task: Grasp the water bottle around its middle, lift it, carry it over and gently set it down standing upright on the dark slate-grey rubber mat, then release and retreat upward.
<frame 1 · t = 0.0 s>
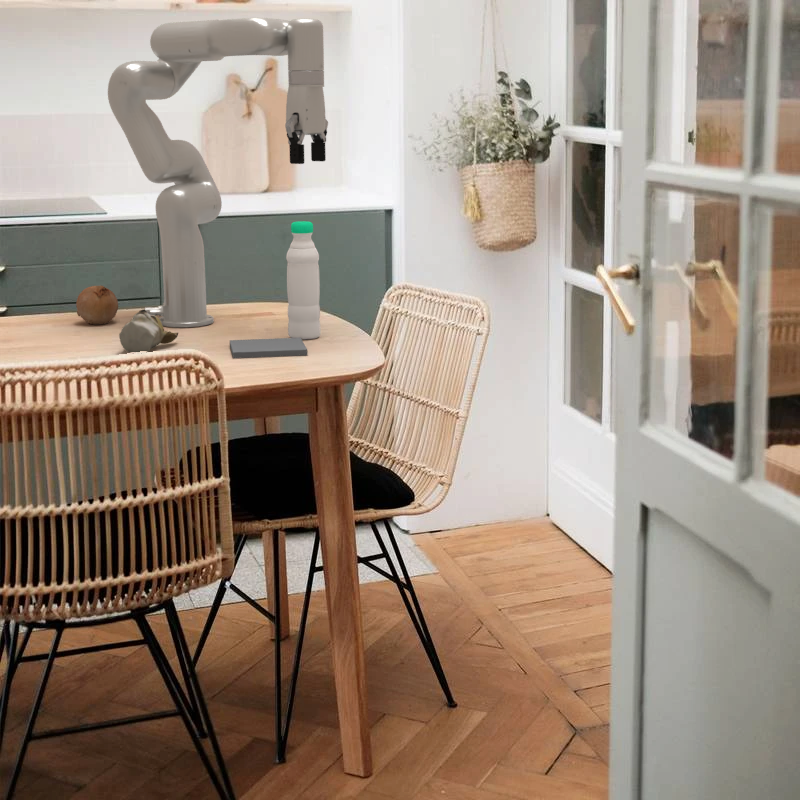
hand: (307, 162, 275), 37 cm above the table, fingers open, 9 cm apart
water bottle: (304, 337, 280), on the table
onion: (98, 324, 297), on the table
ceramic sculpture: (145, 350, 268), on the table
slate mat: (267, 350, 266), on the table
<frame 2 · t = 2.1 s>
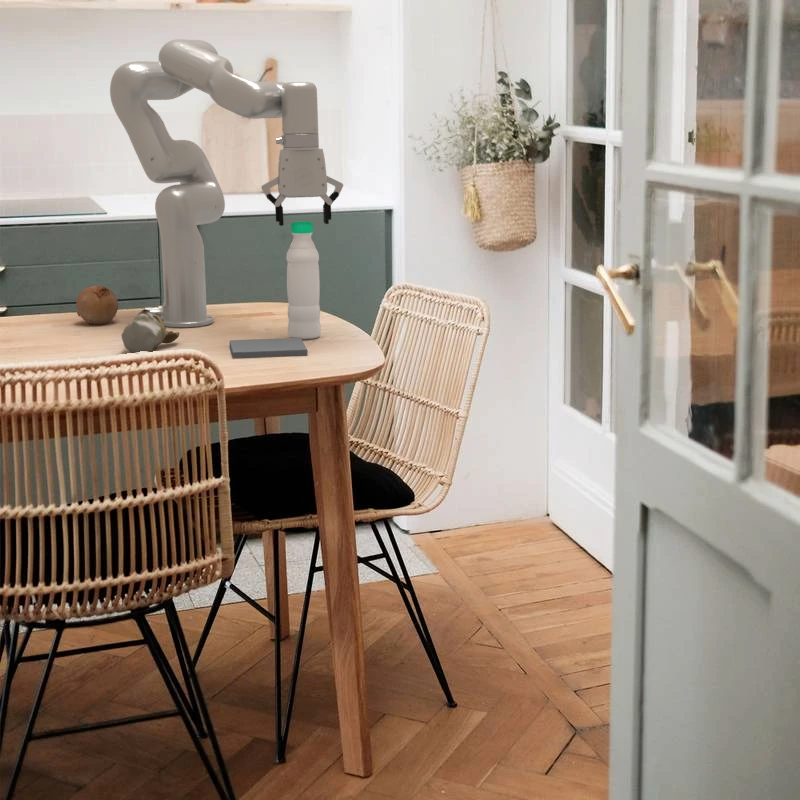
hand: (303, 224, 274), 25 cm above the table, fingers open, 9 cm apart
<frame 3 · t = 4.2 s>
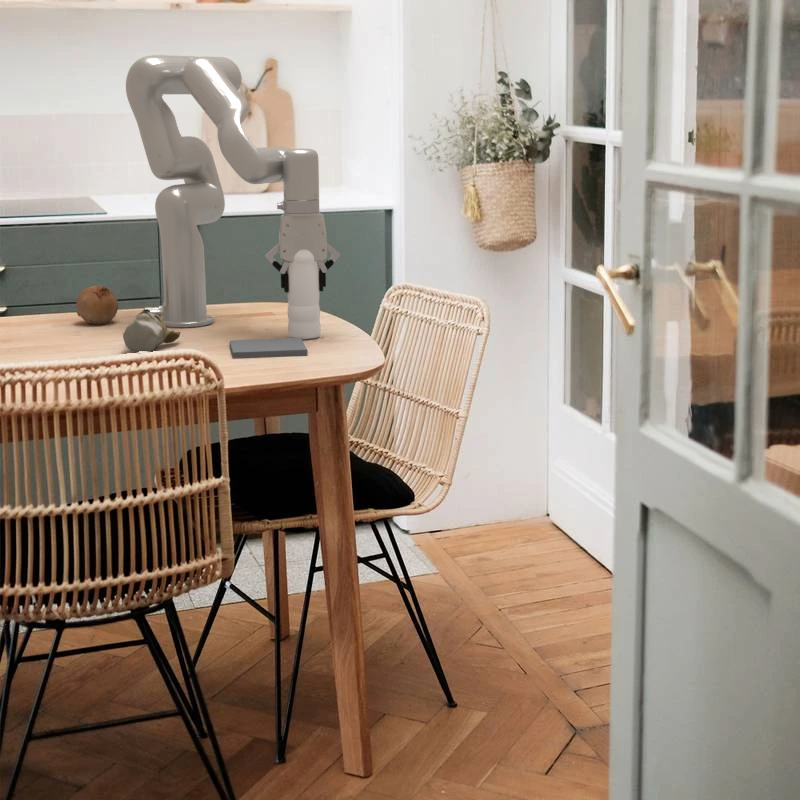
hand: (303, 290, 277), 10 cm above the table, fingers closed on water bottle, 6 cm apart
water bottle: (304, 337, 280), on the table, touching gripper
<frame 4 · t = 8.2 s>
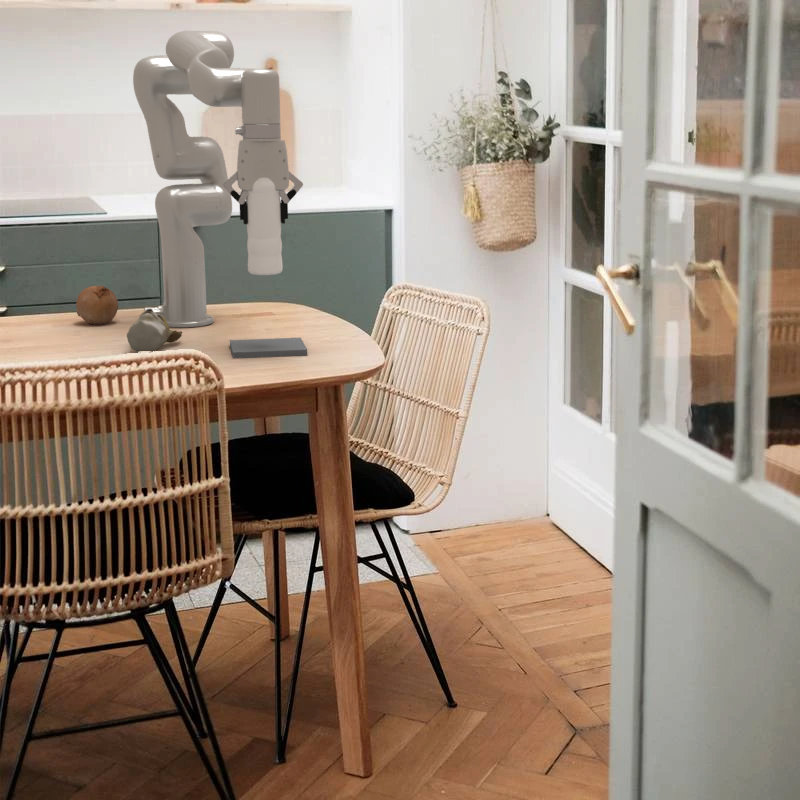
hand: (264, 222, 259), 26 cm above the table, fingers closed on water bottle, 6 cm apart
water bottle: (265, 273, 262), point 16 cm above the table, touching gripper
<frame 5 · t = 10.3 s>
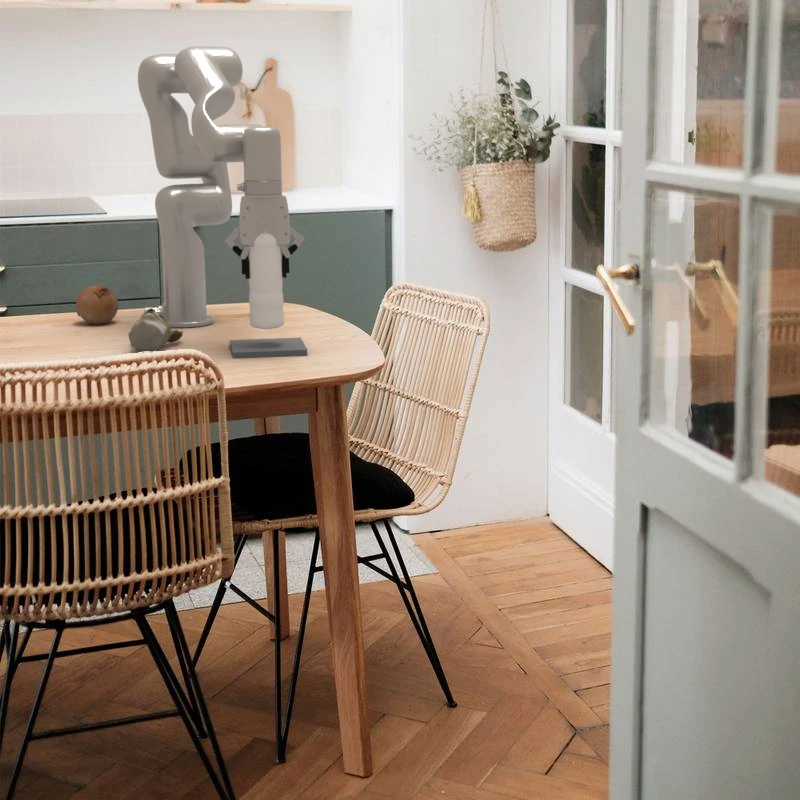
hand: (265, 276, 262), 15 cm above the table, fingers closed on water bottle, 6 cm apart
water bottle: (267, 327, 265), point 5 cm above the table, touching gripper
when the fingers open (13 cm above the table, at t = 12.0 s): water bottle drops 1 cm, resting on slate mat.
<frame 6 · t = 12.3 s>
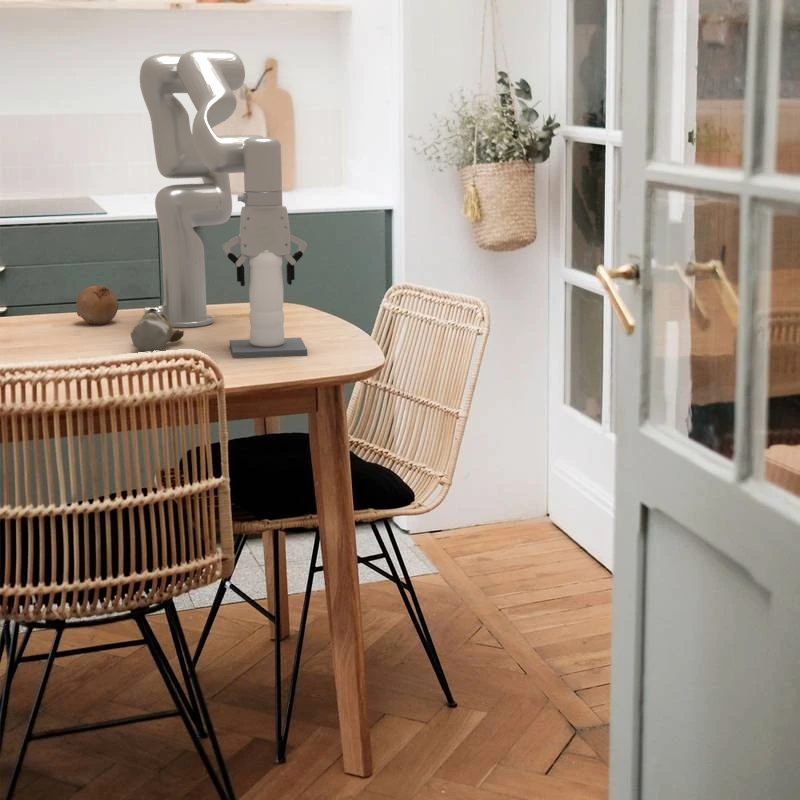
hand: (266, 284, 262), 14 cm above the table, fingers open, 9 cm apart
water bottle: (267, 345, 266), point 1 cm above the table, touching slate mat
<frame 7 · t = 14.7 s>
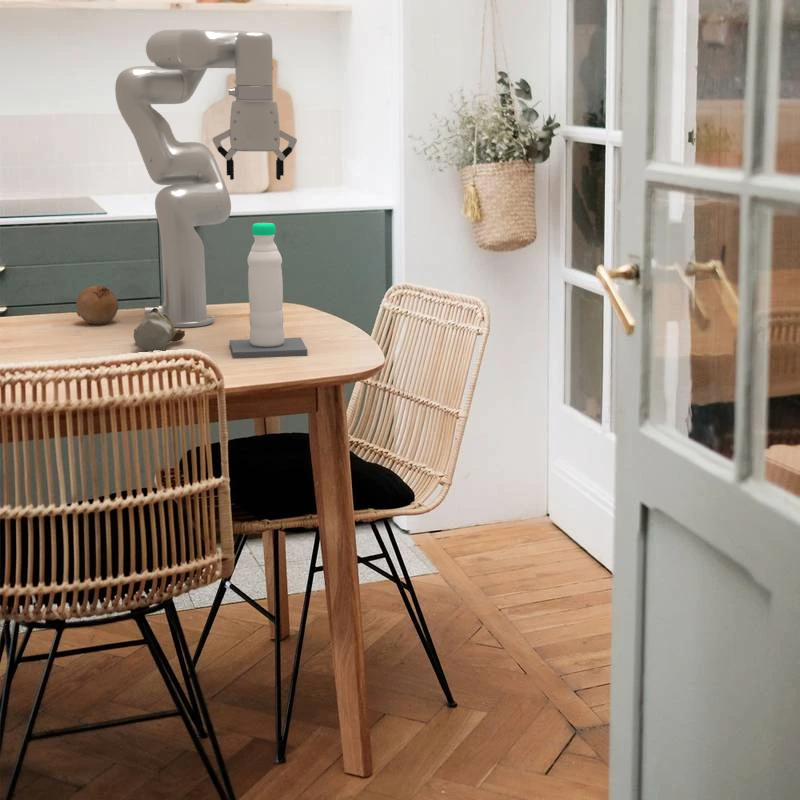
hand: (255, 179, 267), 34 cm above the table, fingers open, 9 cm apart
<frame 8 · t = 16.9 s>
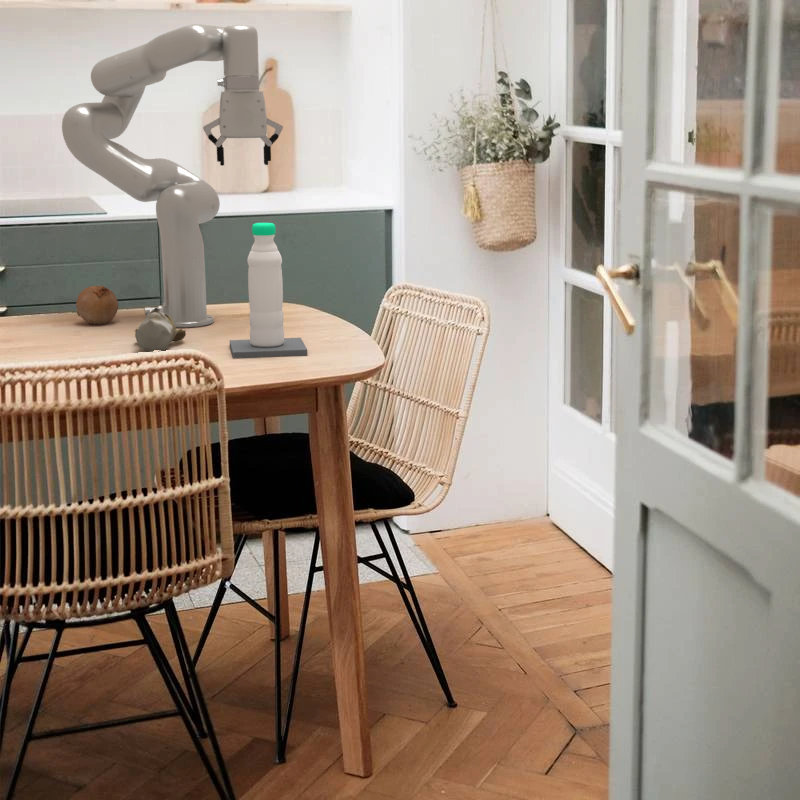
hand: (244, 164, 283), 36 cm above the table, fingers open, 9 cm apart
at the end: water bottle inside the target area on the slate mat (0.1 cm from its centre), point 1.0 cm above the slate mat's base; water bottle tilted 0°; the gripper is holding nothing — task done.
